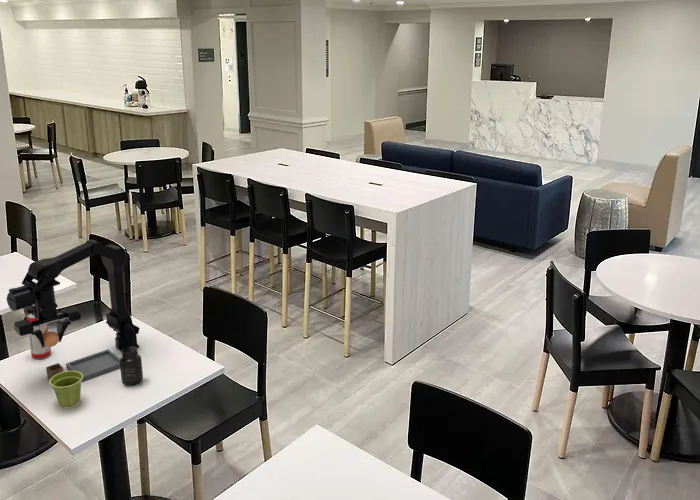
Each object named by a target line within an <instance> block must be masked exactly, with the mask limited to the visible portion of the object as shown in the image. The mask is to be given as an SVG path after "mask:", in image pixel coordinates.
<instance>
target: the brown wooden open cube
mask: <svg viewBox="0 0 700 500" xmlns="http://www.w3.org/2000/svg"><path fill="white" fill-rule="evenodd" d="M45 370H46V377H47V379H48V380H49V381H50V379H51V378H52V377H53V376H54V375H56V374H58V373H61V372H65V370H64V367H63V366H62V365H61V364H60V363H59V362H58V363H54V364H51V365H49V366H46V367H45Z"/></svg>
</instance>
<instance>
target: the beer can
mask: <svg viewBox="0 0 700 500" xmlns="http://www.w3.org/2000/svg"><path fill="white" fill-rule="evenodd" d="M26 319H28V320H29V321H30V322H32V321H36V320H38V318H35V317H34V315H33V316H32V314H27V317H26ZM39 329H40V330H41V331H42V335H44V334H45V333H47V332H49V327H48V324H44V325H40V326H39ZM27 335H28V342H29V348H30V355H31V357H32V358H33V359H36V360H42V359H45V358H47V357H49V356H50V354H51V353H52V347H47V346H45V345H44V347H42V346H41V345H40V343H39V341H38V339H37V338H36V336H35V335H31V334H27Z"/></svg>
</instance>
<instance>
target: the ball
mask: <svg viewBox="0 0 700 500" xmlns="http://www.w3.org/2000/svg"><path fill="white" fill-rule="evenodd" d="M43 341H44V345H45V346H47V347H51V348H52V347H55V346H56V345H57V344H58V343H59V336H58V334H57V332H55V331H52V330H51V331H49V330H48V332H47V333H45V334H44V335H43Z"/></svg>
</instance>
